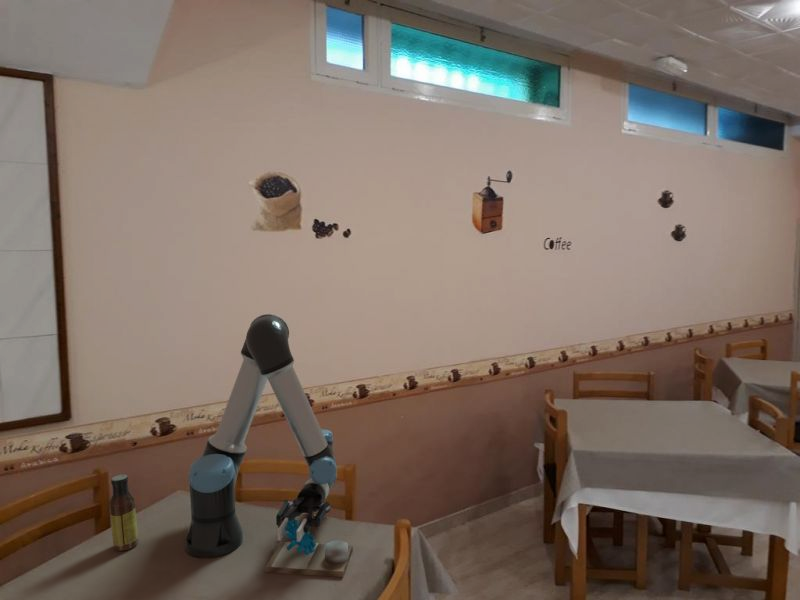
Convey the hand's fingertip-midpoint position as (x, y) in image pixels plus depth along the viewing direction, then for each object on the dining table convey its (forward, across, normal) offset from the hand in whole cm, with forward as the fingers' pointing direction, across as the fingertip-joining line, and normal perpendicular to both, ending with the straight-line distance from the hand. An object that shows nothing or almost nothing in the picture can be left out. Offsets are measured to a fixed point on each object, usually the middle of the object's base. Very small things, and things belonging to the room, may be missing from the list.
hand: (288, 535), depth 140 cm
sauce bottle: (-7, +49, -10) cm, 51 cm away
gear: (-5, -2, -7) cm, 9 cm away
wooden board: (-5, -4, -10) cm, 12 cm away
